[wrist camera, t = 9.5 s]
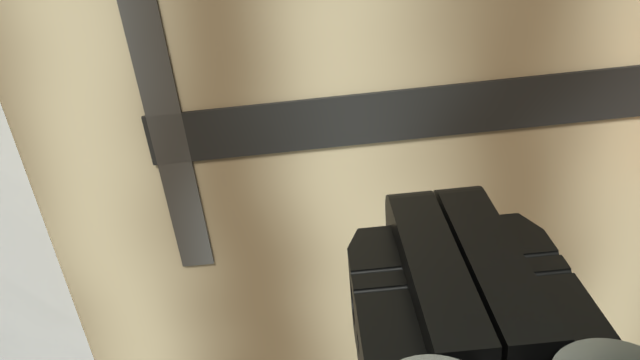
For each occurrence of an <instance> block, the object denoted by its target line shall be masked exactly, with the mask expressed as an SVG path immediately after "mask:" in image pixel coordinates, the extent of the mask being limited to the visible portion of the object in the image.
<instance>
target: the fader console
mask: <svg viewBox="0 0 640 360" xmlns="http://www.w3.org/2000/svg"><path fill="white" fill-rule="evenodd" d="M0 102H1V105H2V108H3V111H4V113H5V116H6V119H7V122H8V124H9V127H10V130H11V133H12V135H13V138H14V141H15V143H16V146H17V149H18V152H19V154H20V157H21V160H22V163H23V165H24V168H25V171H26V174H27V176H28V179H29V182H30V185H31V187H32V190H33V193H34V196H35V198H36V201H37V204H38V206H39V209H40V212H41V215H42V217H43V220H44V223H45V226H46V228H47V231H48V234H49V237H50V239H51V242H52V245H53V248H54V250H55V253H56V256H57V258H58V261H59V264H60V267H61V269H62V272H63V275H64V278H65V280H66V283H67V286H68V289H69V291H70V294H71V297H72V300H73V302H74V305H75V308H76V310H77V313H78V316H79V319H80V321H81V324H82V327H83V330H84V332H85V335H86V338H87V341H88V343H89V346H90V349H91V352H92V354H93V357H94V360H358V357H357V349H356V343H355V336H354V328H353V319H352V306H351V293H350V280H349V267H348V254H347V248H348V246H349V244H350V242H351V240H352V238H353V236H354V234H355V232H356V231H357V229H358V228H368V227H378V226H386V216H385V198H386V195H389V194H399V193H410V192H420V191H430V190H431V191H434V190H439V189H449V188H460V187H470V186H482V187H483V189H484V190H485V192H486V193H487V195H488V197H489V198H490V200H491V202H492V203H493V205H494V207H495V208H496V210H497V211H498V213H499V215H501V214H511V213H519V214H521V215H522V216H524V217H525V218H527V219H529V220H530V221H532V222H533V223H535V224H536V225H538V226H540V227H541V228H543V229H544V230H545V232H546V233H547V234H548V236H549V237H550V239H551V240H552V242H553V243H554V244H555V246H556V247H557V249H558V250H559V255H562V256H563V257H564V259H565V260H566V261H567V263H568V264H569V266H570V267H571V271H572V273H575V274H576V276H577V277H578V279H579V280H580V281H581V283H582V284H583V286H584V287H585V288H586V290H587V291H588V293H589V294H590V296H591V297H592V298H593V300H594V301H595V303H596V304H597V306H598V307H599V308H600V310H601V311H602V313H603V314H604V316H605V317H606V318H607V320H608V321H609V323H610V324H611V325H612V327H613V328H614V330H615V331H616V333H617V334H618V335H619V337H620V338H621V340H622V341H626V342H630V343H633V344H636V345H639V346H640V0H0Z"/></svg>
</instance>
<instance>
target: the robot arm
mask: <svg viewBox="0 0 640 360" xmlns="http://www.w3.org/2000/svg"><path fill="white" fill-rule="evenodd" d="M385 216H386V226H378V227H368V228H358V229H357V231H356V232H355V234H354V236H353V238H352V240H351V242H350V244H349V246H348V248H347V254H348V267H349V280H350V293H351V306H352V319H353V328H354V336H355V343H356V349H357V357H358V360H640V346H639V345H636V344H633V343H630V342H626V341H622V340H621V338H620V337H619V335H618V334H617V333H616V331H615V330H614V328H613V327H612V325H611V324H610V323H609V321H608V320H607V318H606V317H605V316H604V314H603V313H602V311H601V310H600V308H599V307H598V306H597V304H596V303H595V301H594V300H593V298H592V297H591V296H590V294H589V293H588V291H587V290H586V288H585V287H584V286H583V284H582V283H581V281H580V280H579V279H578V277H577V276H576V274H575V273H572V271H571V267H570V266H569V264H568V263H567V261H566V260H565V259H564V257H563V256H562V255H559V250H558V249H557V247H556V246H555V244H554V243H553V242H552V240H551V239H550V237H549V236H548V234H547V233H546V232H545V230H544V229H543V228H541V227H540V226H538V225H536V224H535V223H533V222H532V221H530V220H529V219H527V218H525V217H524V216H522V215H521V214H519V213H511V214H501V215H499V213H498V211H497V210H496V208H495V207H494V205H493V203H492V202H491V200H490V198H489V197H488V195H487V193H486V192H485V190H484V189H483V187H482V186H470V187H460V188H449V189H439V190H434V191H431V190H430V191H420V192H410V193H399V194H389V195H386V198H385Z"/></svg>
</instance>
